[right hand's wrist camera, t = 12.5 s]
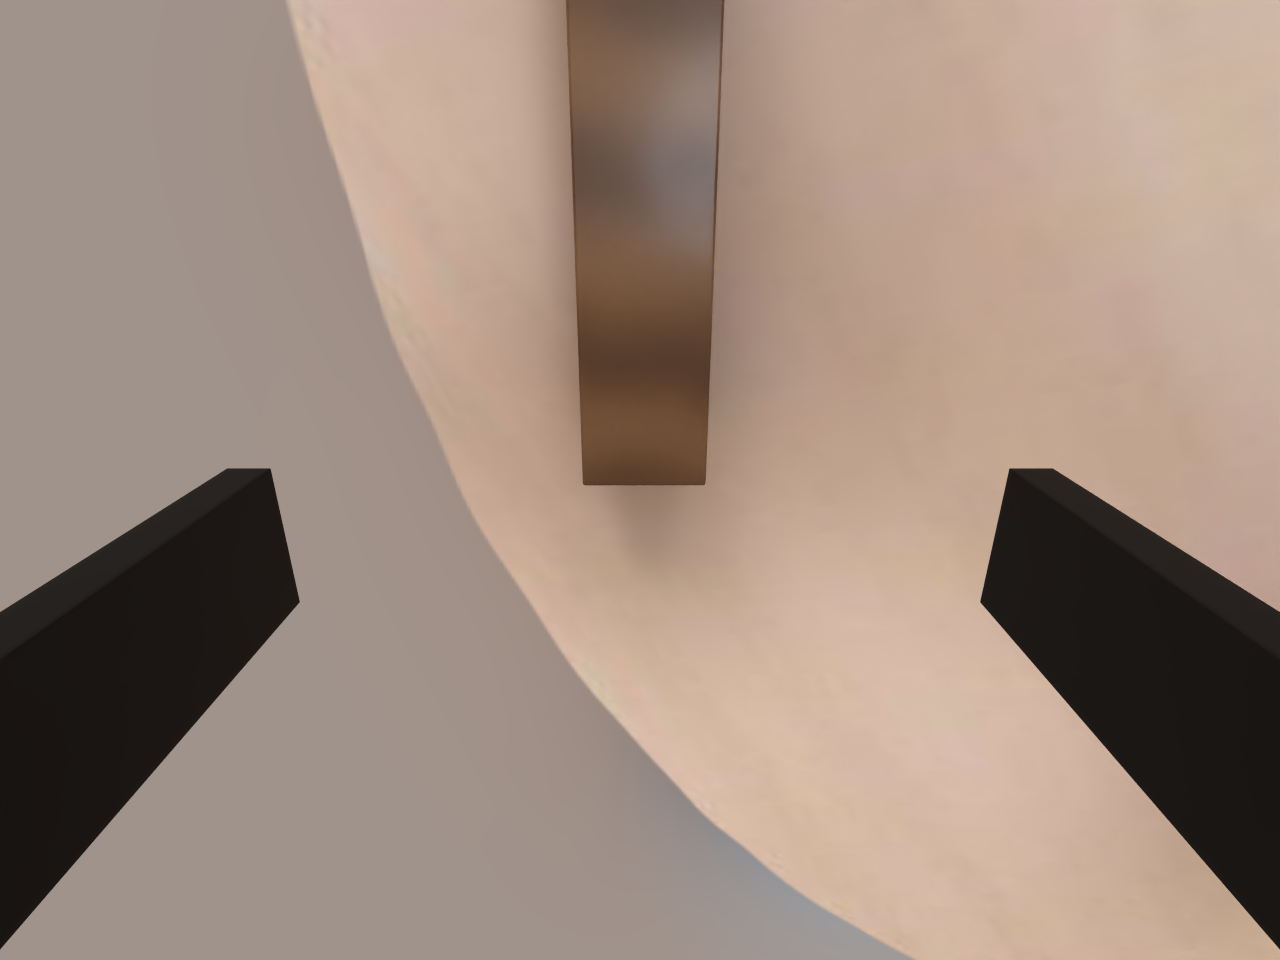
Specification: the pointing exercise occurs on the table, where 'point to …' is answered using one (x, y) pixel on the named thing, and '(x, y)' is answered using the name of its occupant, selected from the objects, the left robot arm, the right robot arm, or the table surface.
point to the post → (644, 232)
